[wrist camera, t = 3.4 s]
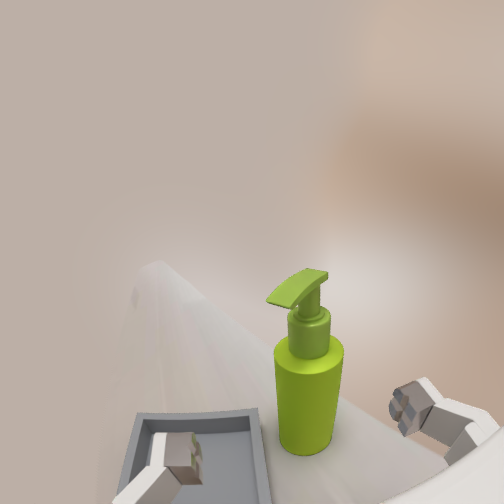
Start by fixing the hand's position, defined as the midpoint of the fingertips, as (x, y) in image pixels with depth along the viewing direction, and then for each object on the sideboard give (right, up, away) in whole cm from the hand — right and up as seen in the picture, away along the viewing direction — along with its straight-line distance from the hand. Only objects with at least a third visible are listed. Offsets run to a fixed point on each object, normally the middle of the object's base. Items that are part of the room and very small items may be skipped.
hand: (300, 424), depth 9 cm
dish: (-7, -17, +12) cm, 22 cm away
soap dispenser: (+4, -14, +16) cm, 22 cm away
